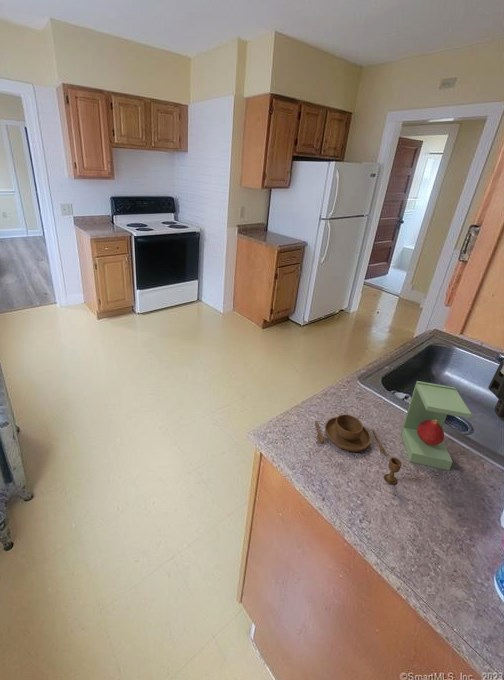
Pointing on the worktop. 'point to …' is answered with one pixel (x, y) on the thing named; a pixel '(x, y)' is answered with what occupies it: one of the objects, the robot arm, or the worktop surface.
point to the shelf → (430, 406)
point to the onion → (430, 432)
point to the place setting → (355, 439)
